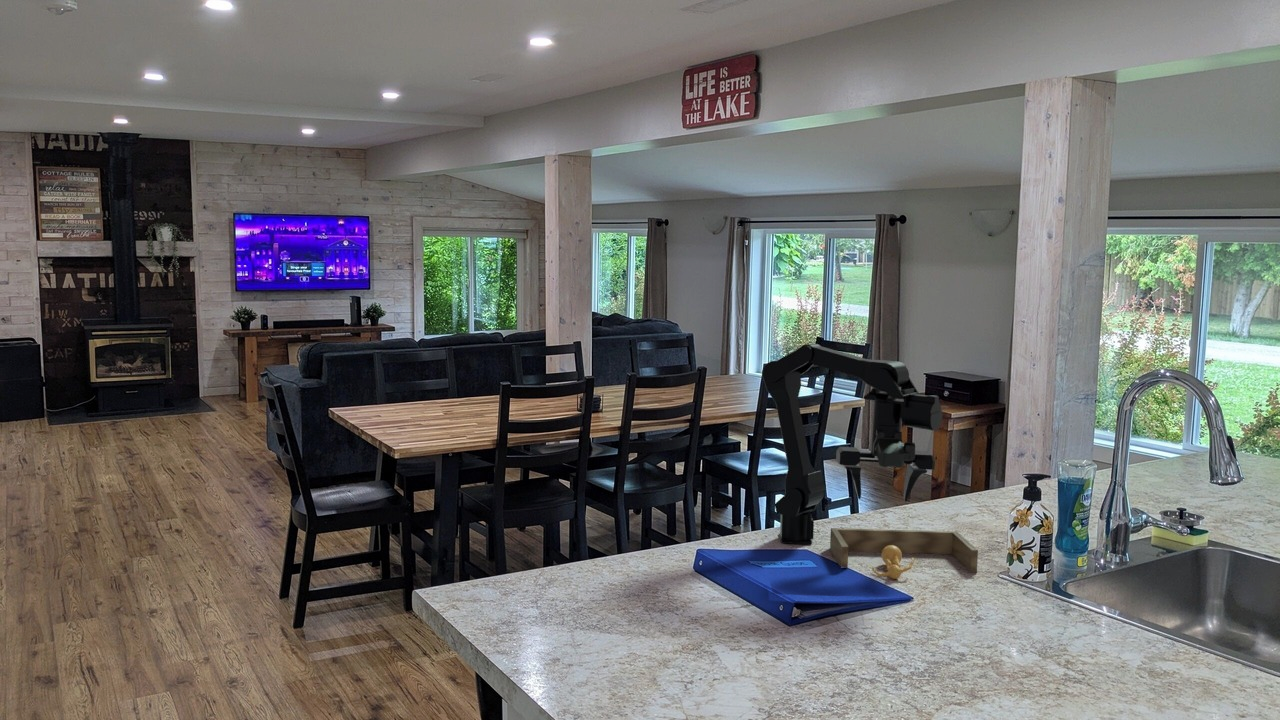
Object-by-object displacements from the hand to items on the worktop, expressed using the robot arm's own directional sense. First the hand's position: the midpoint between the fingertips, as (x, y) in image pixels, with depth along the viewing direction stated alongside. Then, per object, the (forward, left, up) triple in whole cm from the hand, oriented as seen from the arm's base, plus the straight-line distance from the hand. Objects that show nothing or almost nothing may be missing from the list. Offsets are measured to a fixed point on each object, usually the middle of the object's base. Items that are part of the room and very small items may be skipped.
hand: (882, 499), depth 196 cm
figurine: (+2, -2, -12) cm, 12 cm away
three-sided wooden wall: (+4, 0, -13) cm, 13 cm away
